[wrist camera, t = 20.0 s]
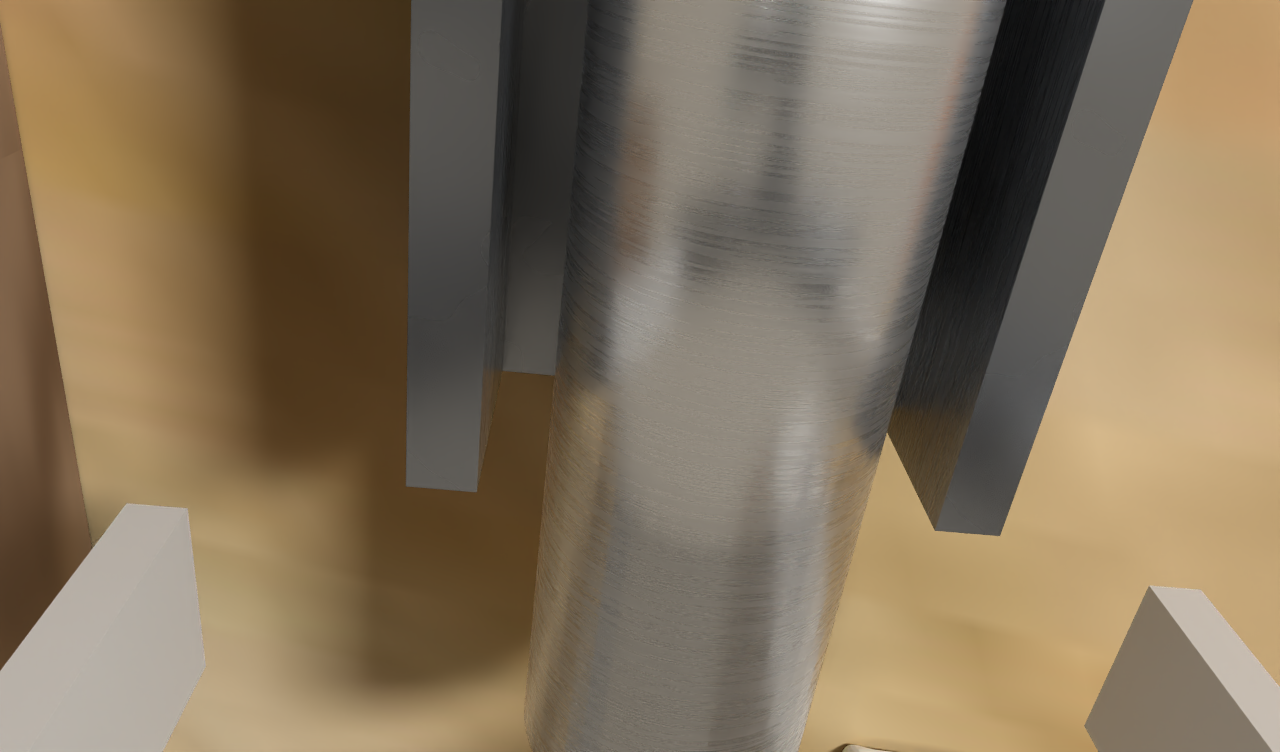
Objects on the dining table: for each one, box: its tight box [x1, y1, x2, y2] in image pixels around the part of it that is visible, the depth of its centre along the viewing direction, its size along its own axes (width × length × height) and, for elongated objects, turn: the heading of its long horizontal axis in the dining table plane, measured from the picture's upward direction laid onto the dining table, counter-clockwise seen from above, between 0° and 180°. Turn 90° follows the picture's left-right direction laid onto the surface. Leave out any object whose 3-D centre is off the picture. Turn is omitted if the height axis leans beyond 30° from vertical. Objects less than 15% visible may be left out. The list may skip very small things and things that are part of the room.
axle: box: [524, 0, 1007, 752], centre depth 10 cm, size 18×4×4 cm, turn 173°
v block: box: [406, 0, 1193, 536], centre depth 12 cm, size 10×7×6 cm
